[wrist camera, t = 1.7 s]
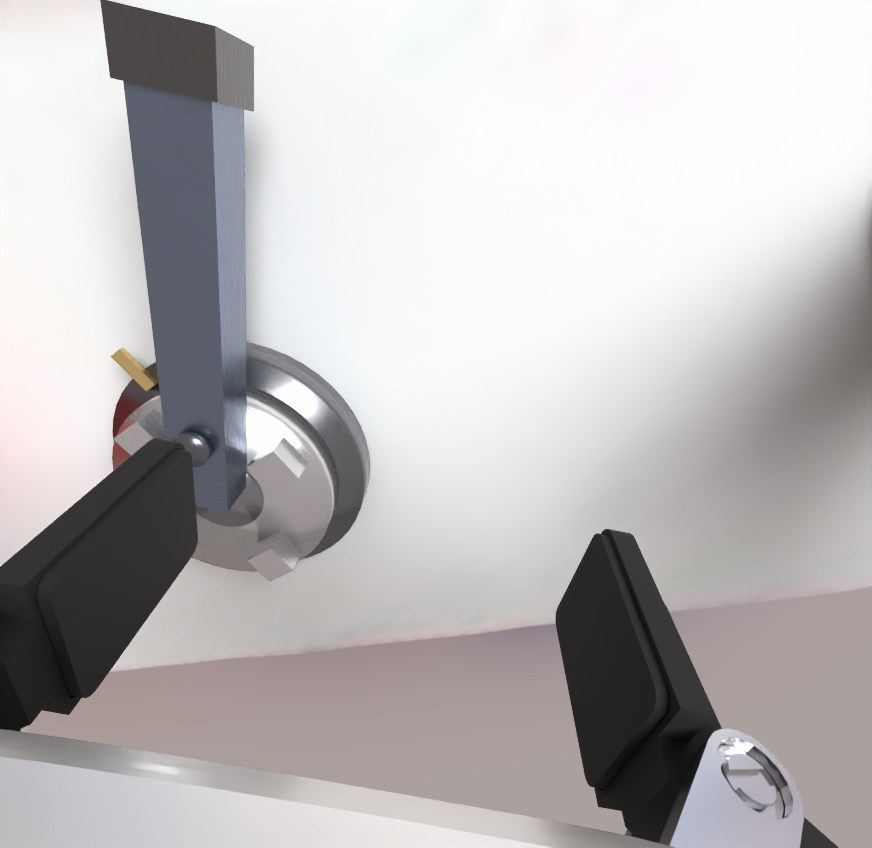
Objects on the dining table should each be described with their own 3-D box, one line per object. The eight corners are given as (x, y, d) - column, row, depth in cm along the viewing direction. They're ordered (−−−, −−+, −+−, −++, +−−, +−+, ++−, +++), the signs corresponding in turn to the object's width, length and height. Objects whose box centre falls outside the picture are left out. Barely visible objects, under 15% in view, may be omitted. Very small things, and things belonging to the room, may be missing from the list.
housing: (386, 372, 27) (378, 389, 25) (356, 561, 35) (348, 585, 33) (117, 313, 27) (87, 325, 25) (148, 517, 34) (128, 539, 32)
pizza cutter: (388, 84, 18) (360, 58, 14) (330, 565, 32) (307, 627, 28) (65, 7, 18) (-66, -43, 14) (147, 527, 32) (95, 584, 28)
